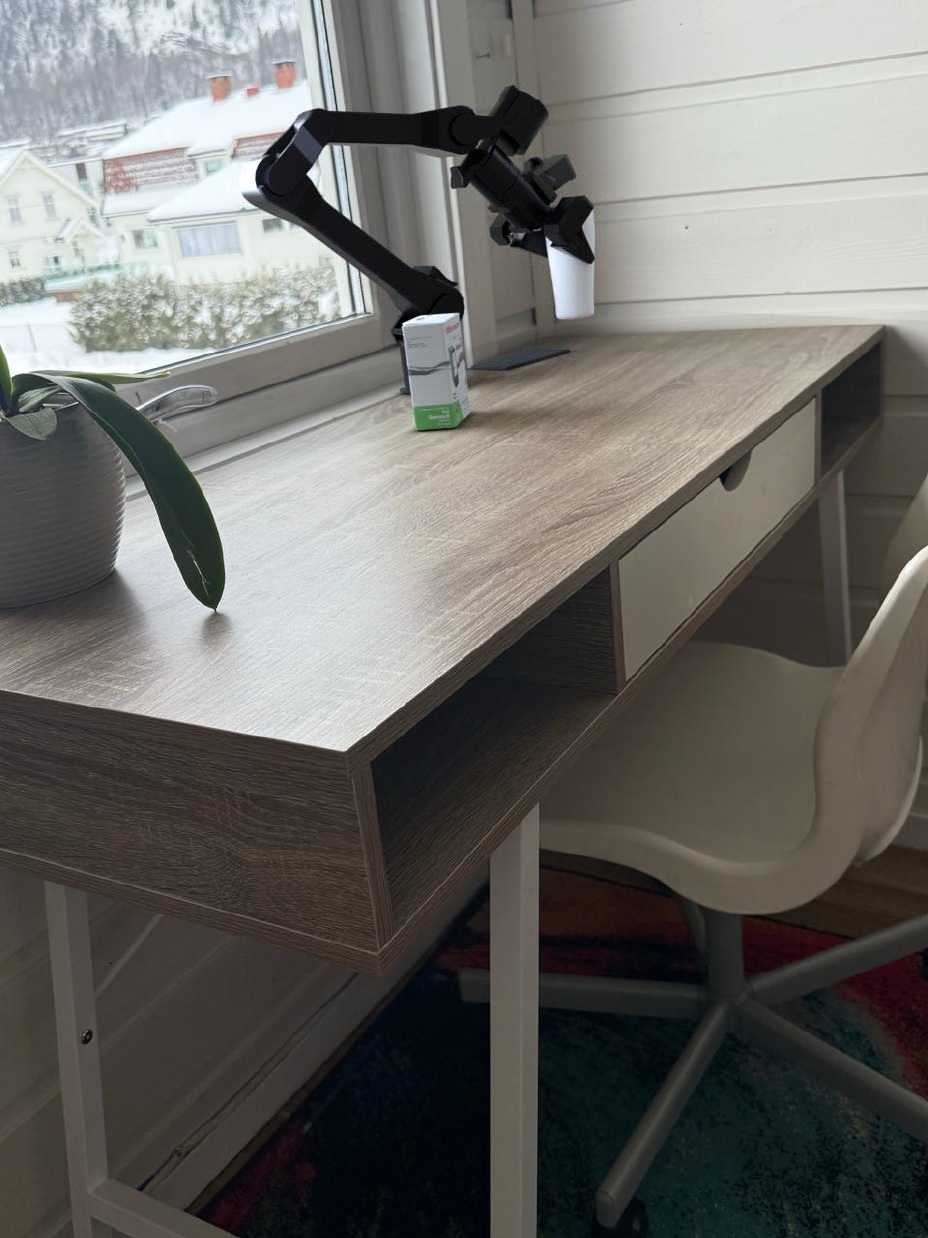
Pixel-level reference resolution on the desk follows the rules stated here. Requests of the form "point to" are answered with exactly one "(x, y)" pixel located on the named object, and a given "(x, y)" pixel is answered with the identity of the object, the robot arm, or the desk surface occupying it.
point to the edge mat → (519, 359)
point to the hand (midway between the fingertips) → (578, 261)
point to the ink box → (436, 370)
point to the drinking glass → (573, 279)
